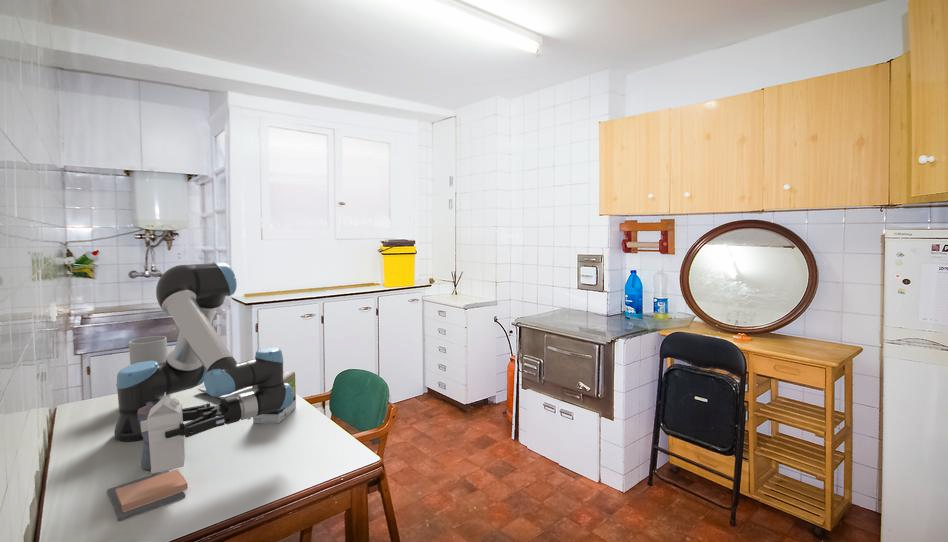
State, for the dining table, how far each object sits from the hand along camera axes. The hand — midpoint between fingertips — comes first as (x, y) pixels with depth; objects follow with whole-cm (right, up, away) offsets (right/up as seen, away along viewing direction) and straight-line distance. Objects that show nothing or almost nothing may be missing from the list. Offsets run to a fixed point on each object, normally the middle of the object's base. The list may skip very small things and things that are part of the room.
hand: (145, 432), depth 120 cm
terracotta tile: (+5, -15, +7) cm, 17 cm away
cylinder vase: (-46, -11, +70) cm, 84 cm away
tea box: (+11, -12, +53) cm, 56 cm away
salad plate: (-18, -10, +80) cm, 82 cm away
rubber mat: (-2, -17, +3) cm, 18 cm away
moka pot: (-10, -16, +19) cm, 27 cm away
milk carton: (+3, -10, +4) cm, 12 cm away
